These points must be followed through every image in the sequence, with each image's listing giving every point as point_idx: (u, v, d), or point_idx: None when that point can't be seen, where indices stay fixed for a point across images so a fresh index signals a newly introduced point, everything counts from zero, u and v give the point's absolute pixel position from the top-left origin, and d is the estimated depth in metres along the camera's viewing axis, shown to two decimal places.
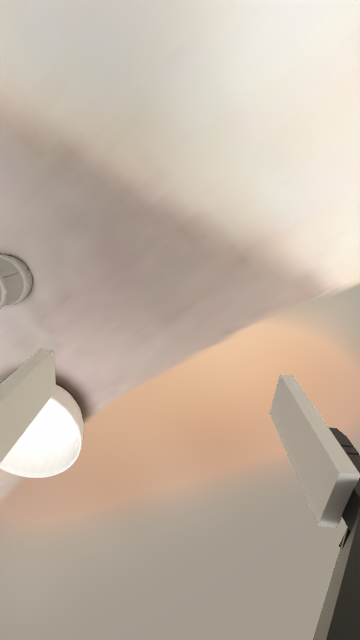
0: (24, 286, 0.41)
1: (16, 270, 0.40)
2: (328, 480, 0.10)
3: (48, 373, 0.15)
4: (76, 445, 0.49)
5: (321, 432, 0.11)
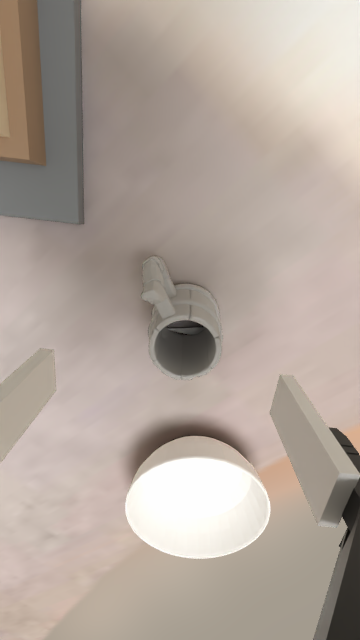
0: None
1: (213, 305, 0.30)
2: (328, 480, 0.10)
3: (48, 373, 0.15)
4: (243, 516, 0.39)
5: (321, 432, 0.11)
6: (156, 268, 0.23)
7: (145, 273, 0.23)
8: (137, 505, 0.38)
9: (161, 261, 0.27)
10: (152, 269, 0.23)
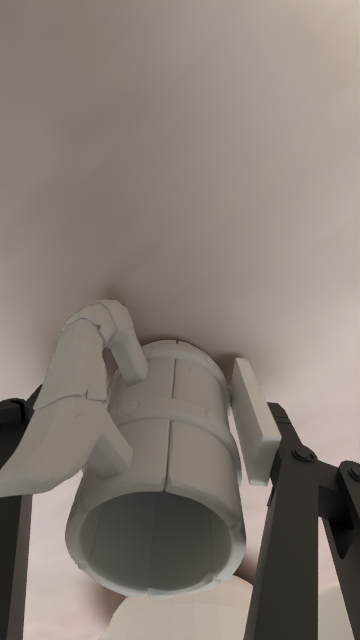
0: None
1: (220, 389, 0.16)
2: (257, 443, 0.11)
3: None
4: None
5: (258, 404, 0.13)
6: (84, 348, 0.09)
7: (52, 365, 0.09)
8: None
9: (113, 313, 0.13)
10: (70, 353, 0.09)
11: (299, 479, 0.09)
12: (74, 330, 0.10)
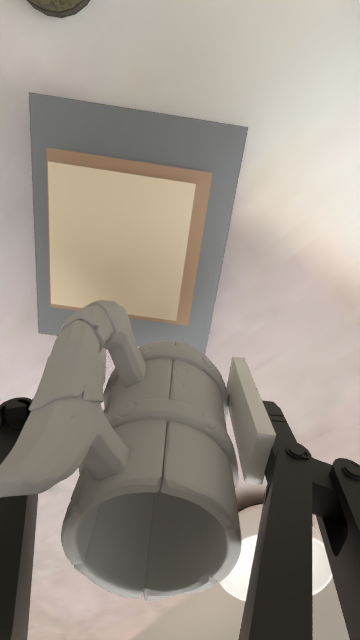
0: None
1: (217, 390, 0.16)
2: (252, 441, 0.12)
3: (102, 364, 0.17)
4: None
5: (253, 402, 0.13)
6: (80, 349, 0.09)
7: (48, 366, 0.09)
8: None
9: (110, 314, 0.13)
10: (67, 354, 0.09)
11: (293, 477, 0.09)
12: (71, 331, 0.10)
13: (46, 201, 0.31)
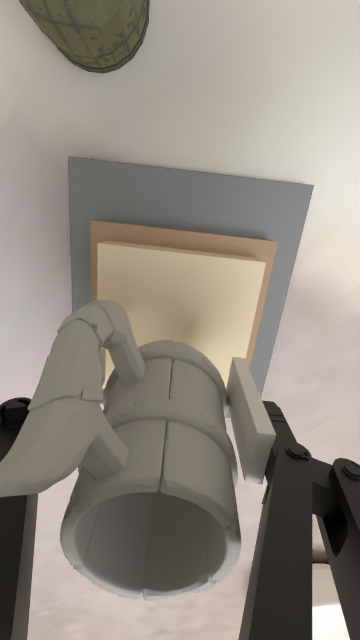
0: None
1: (217, 390, 0.16)
2: (252, 441, 0.12)
3: (102, 364, 0.17)
4: None
5: (253, 402, 0.13)
6: (79, 349, 0.09)
7: (47, 365, 0.09)
8: None
9: (109, 313, 0.13)
10: (66, 353, 0.09)
11: (293, 477, 0.09)
12: (70, 330, 0.10)
13: (85, 268, 0.28)
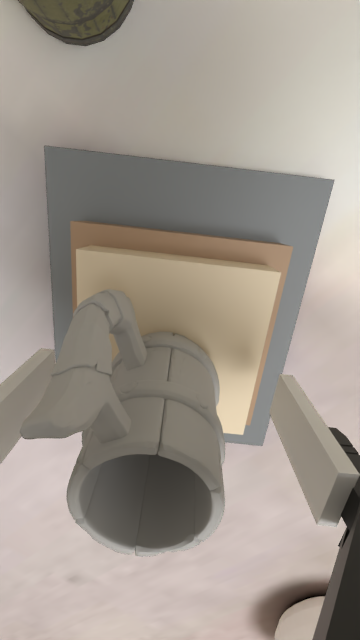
0: None
1: (211, 379, 0.17)
2: (327, 480, 0.10)
3: (49, 373, 0.15)
4: None
5: (320, 432, 0.11)
6: (94, 329, 0.11)
7: (66, 340, 0.10)
8: None
9: (118, 302, 0.14)
10: (83, 331, 0.10)
11: None
12: (86, 313, 0.11)
13: (67, 277, 0.24)
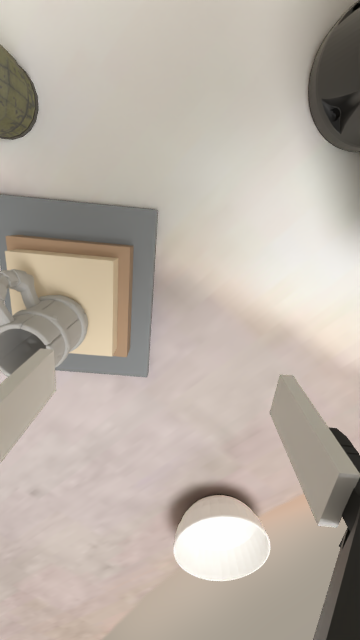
0: (81, 333, 0.34)
1: (76, 316, 0.33)
2: (328, 480, 0.10)
3: (48, 373, 0.15)
4: (251, 549, 0.56)
5: (321, 432, 0.11)
6: None
7: None
8: (179, 545, 0.55)
9: (18, 274, 0.30)
10: None
11: None
12: None
13: None
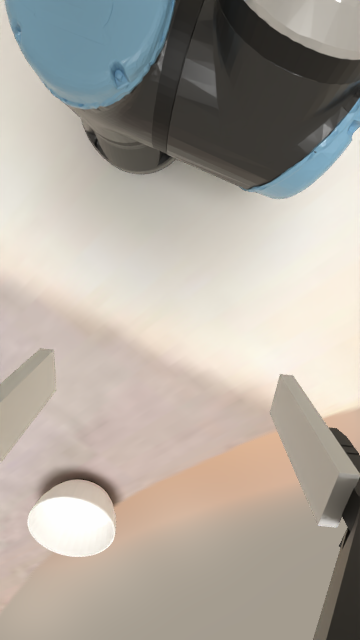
0: None
1: None
2: (328, 480, 0.10)
3: (48, 373, 0.15)
4: (109, 529, 0.62)
5: (321, 432, 0.11)
6: None
7: None
8: (40, 523, 0.60)
9: None
10: None
11: None
12: None
13: None
